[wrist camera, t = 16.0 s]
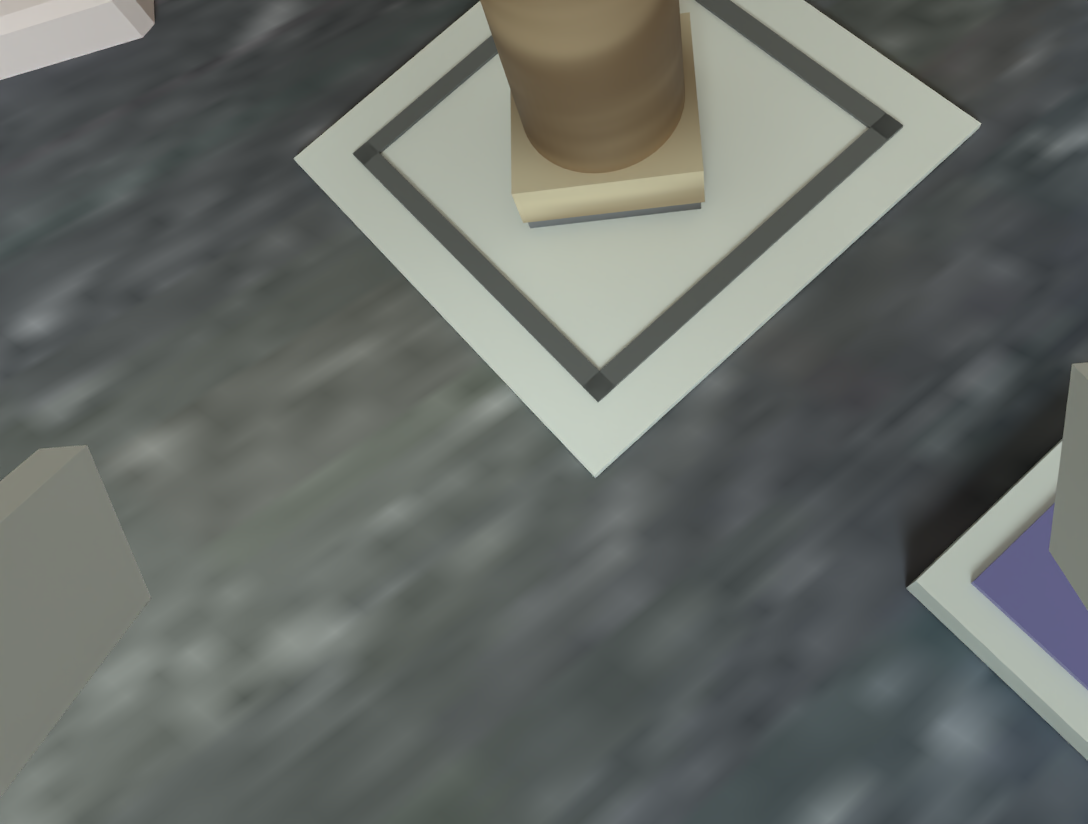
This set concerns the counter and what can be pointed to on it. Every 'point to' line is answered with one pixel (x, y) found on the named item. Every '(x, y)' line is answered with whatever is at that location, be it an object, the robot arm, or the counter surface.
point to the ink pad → (1018, 602)
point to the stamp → (599, 108)
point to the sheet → (641, 241)
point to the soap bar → (66, 30)
